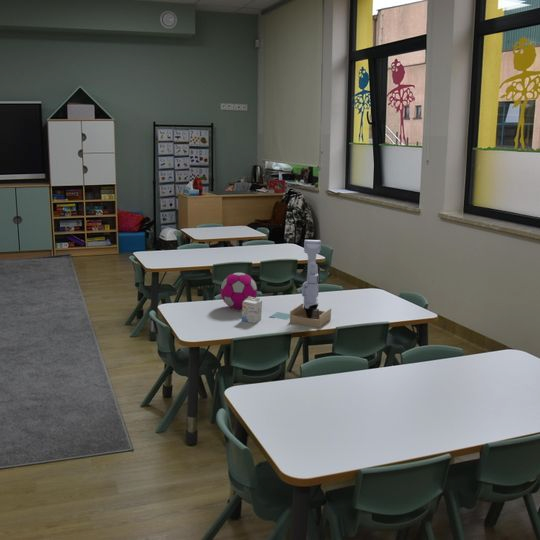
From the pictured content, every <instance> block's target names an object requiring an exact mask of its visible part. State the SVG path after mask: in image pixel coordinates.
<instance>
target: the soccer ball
mask: <svg viewBox="0 0 540 540" xmlns="http://www.w3.org/2000/svg"><path fill="white" fill-rule="evenodd" d="M257 293H258V286H257V283H256V281H255V280H254V279H253V278H252V277H251V276H250V275H249V274H246V273H244V272H234V273H231V274H229V275H228V276H226V277H225V278H224V280H223V281H222V283H221V286H220V296H221V298H222V299H221V300H222V301H223V302H224V303H225V304H226V305H227V306H228V307H230V308H232V309H234V310H235V309H237V310H242V308H243V301H245V300H247V298H248V296H250V297H255V298H257V295H258V294H257ZM252 299H254V298H252Z"/></svg>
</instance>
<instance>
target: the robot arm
mask: <svg viewBox="0 0 540 540" xmlns="http://www.w3.org/2000/svg"><path fill="white" fill-rule="evenodd" d="M303 245H304V246H303V251H304V253H305V254H307V273H306V281H304V282H303V283H302V284H301V285H302V287H301V296H302V297H303V308H304V309H305V311H306V315H307V318H310V319H311V317H312V312H313V309H314V308H316V309H318V307H319V302H318V297H319V292H320V291H319V278H320V277H319V272H318V268H319V267H318V264H317V254H320V252H321V249H322V240H320V239H304V242H303Z"/></svg>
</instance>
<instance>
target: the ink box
mask: <svg viewBox="0 0 540 540" xmlns="http://www.w3.org/2000/svg"><path fill="white" fill-rule="evenodd" d="M252 298H254V299H252ZM262 309H263V300H260V298H259V297H256V298H255V297H250V296H248V298H247V300H245V301H243V308H242V309H241V310H242V311H241V312H242V313H241V321H242V322H247V323H250V324H251V323H252V324H256V323H259V321H261V320H262V312H263V311H262Z"/></svg>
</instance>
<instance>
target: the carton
mask: <svg viewBox="0 0 540 540" xmlns="http://www.w3.org/2000/svg"><path fill="white" fill-rule="evenodd" d="M303 305H304V303H301V304H299V305H298V306H296V307H294V308H293V309H291V310H290V312H289V314H290V318H289V323H292V324H299V325H304V326H310V327H316V328H321V327H323V326H324V325H325V324H326V323H328V322H329V321H331V319H332V307H329V308H328V309H327V310H326V311H325V310H324V311H323V310H319V318H318V320H316V319H310V318H304V317H303V309H304V308H303Z"/></svg>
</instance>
